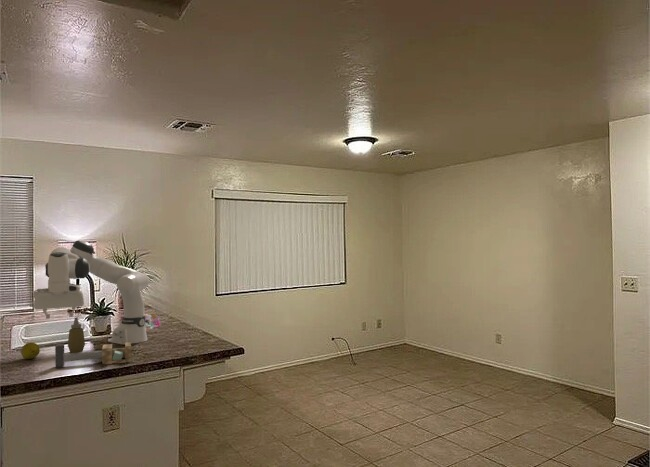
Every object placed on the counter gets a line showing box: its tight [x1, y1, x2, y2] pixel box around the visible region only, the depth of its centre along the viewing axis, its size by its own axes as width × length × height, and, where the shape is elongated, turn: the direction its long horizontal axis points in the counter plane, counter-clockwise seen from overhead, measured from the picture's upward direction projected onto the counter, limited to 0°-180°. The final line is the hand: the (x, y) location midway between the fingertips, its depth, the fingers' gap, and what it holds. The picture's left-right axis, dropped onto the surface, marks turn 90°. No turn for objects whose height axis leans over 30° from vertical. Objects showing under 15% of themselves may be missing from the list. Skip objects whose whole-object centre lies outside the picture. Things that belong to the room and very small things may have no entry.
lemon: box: [20, 342, 40, 360], centre depth 233 cm, size 11×8×8 cm
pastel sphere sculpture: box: [144, 312, 162, 331], centre depth 311 cm, size 25×24×9 cm
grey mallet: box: [54, 343, 102, 369], centre depth 221 cm, size 22×5×10 cm, turn 113°
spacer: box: [112, 351, 123, 361], centre depth 227 cm, size 4×5×4 cm
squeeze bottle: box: [67, 316, 86, 354], centre depth 246 cm, size 8×8×18 cm
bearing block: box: [101, 342, 132, 365], centre depth 227 cm, size 12×9×8 cm
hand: (59, 317), depth 217 cm, fingers open, 8 cm apart
